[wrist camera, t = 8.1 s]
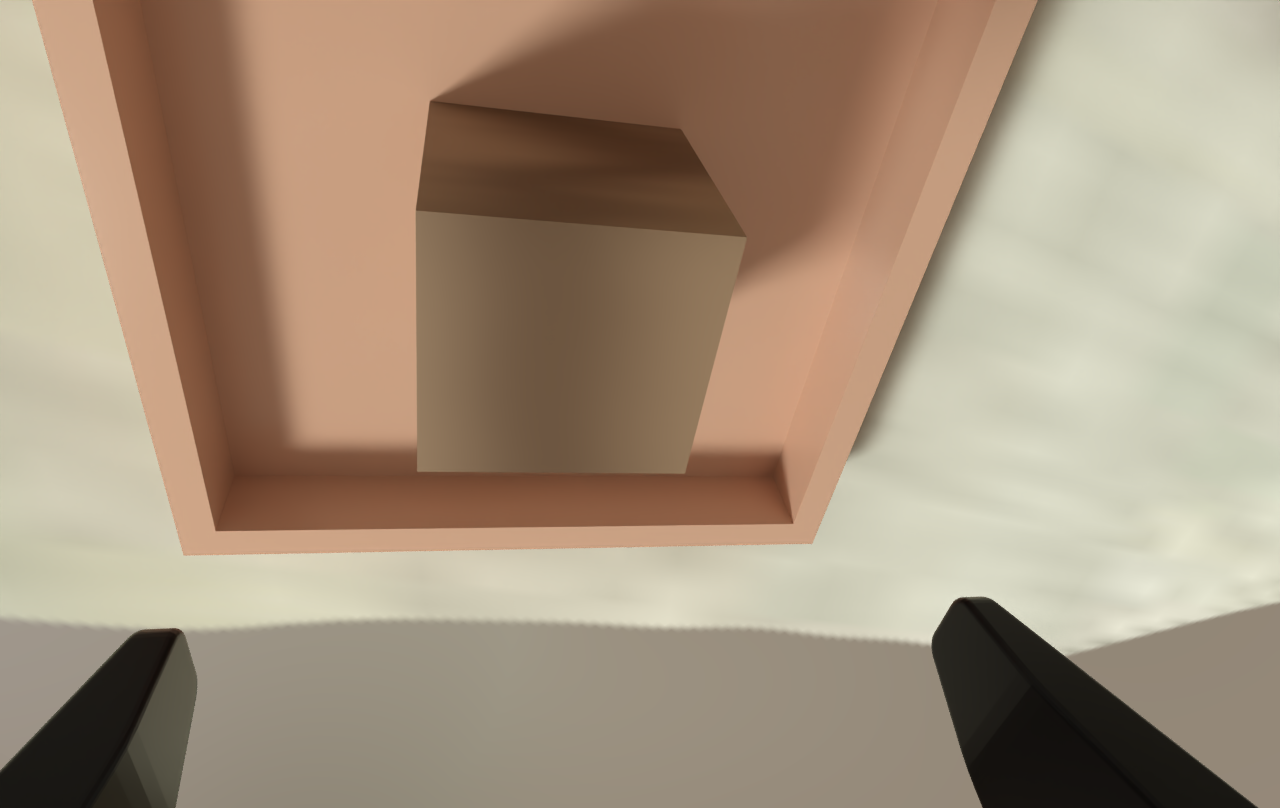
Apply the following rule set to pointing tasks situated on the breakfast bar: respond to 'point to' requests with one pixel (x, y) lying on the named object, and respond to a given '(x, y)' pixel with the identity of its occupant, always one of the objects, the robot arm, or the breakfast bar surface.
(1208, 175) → the breakfast bar surface
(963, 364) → the breakfast bar surface
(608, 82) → the terracotta dish
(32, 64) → the breakfast bar surface
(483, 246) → the walnut cube
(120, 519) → the breakfast bar surface
